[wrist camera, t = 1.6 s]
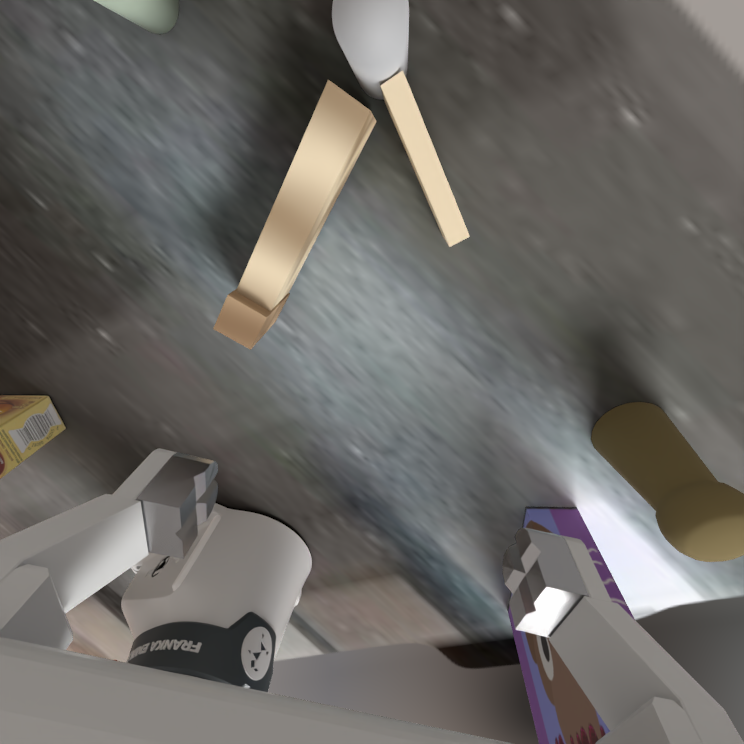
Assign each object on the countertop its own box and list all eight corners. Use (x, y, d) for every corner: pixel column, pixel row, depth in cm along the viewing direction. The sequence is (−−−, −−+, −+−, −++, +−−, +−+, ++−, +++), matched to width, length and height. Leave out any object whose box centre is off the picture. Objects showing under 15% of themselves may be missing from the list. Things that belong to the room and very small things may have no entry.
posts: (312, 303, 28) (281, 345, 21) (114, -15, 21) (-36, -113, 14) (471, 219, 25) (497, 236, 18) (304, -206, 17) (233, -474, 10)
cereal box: (525, 506, 37) (691, 961, 15) (576, 507, 36) (819, 977, 15) (507, 610, 45) (600, 1001, 24) (549, 612, 44) (681, 1013, 23)
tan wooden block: (339, 94, 22) (322, 72, 17) (377, 122, 22) (370, 108, 17) (244, 303, 28) (213, 328, 23) (275, 321, 28) (250, 349, 24)
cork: (593, 465, 34) (670, 582, 24) (588, 411, 31) (672, 519, 21) (668, 451, 32) (781, 569, 23) (669, 394, 30) (797, 500, 20)
